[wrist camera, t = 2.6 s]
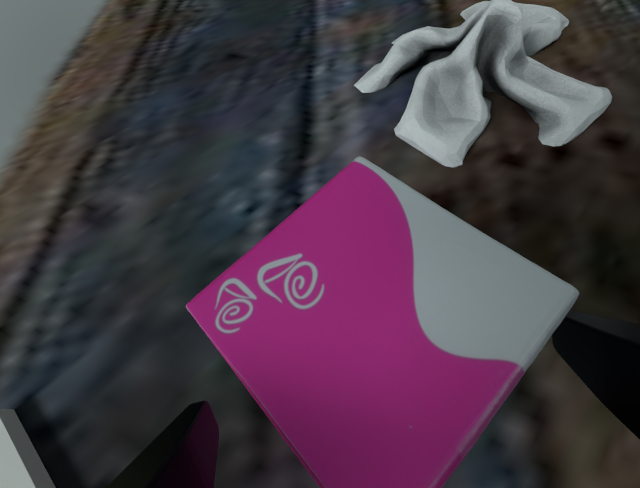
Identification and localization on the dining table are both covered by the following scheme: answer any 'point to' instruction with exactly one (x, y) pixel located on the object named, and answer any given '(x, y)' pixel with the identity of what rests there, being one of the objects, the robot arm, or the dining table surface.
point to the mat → (19, 456)
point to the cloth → (485, 79)
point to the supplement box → (380, 330)
